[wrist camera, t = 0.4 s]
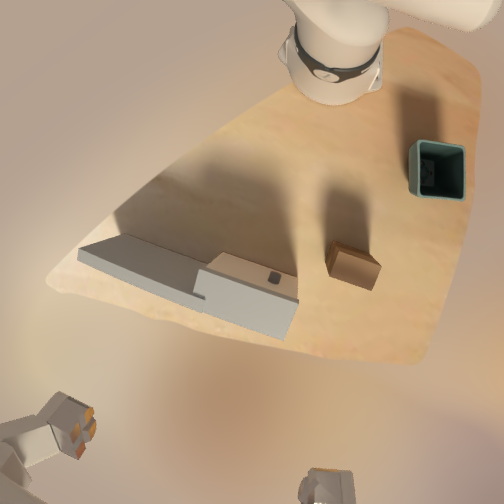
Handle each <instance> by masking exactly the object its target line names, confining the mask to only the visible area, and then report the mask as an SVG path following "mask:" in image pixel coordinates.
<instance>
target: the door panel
mask: <svg viewBox="0 0 504 504" xmlns="http://www.w3.org/2000/svg"><path fill="white" fill-rule="evenodd" d="M206 267H207V268H210V269H212V270H215V271H218V272H221V273H224V274H226V275H229V276H232V277H235V278H238V279H240V280H243V281H246V282H249V283H252V284H255V285H258V286H260V287H263V288H266V289H269V290H272V291H275V292H278V293H281V294H284V295H287V296H289V297H292V298H295V299H297V293H298V278H297V277H294V276H291V275H288V274H285V273H282V272H279V271H276V270H273V269H271V268H268V267H265V266H262V265H259V264H256V263H253V262H250V261H247V260H245V259H242V258H239V257H236V256H233V255H230V254H227V253H225V252H222V253H221V254H220V255H219V256H218V257H216V258H215V259H214V260H213V261H212V262H211V263H210V264H208V265H207V266H206Z"/></svg>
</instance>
